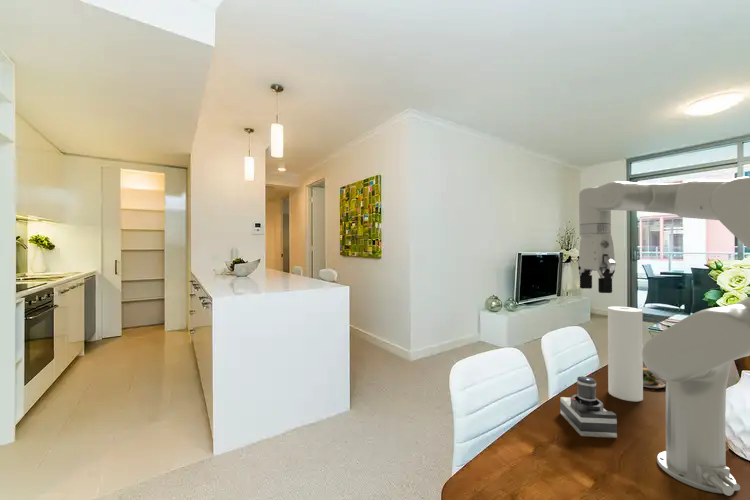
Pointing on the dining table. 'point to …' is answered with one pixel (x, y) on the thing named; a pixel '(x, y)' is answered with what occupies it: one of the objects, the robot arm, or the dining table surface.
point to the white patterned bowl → (651, 380)
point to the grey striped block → (589, 418)
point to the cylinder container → (625, 353)
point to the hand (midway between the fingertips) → (595, 290)
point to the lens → (586, 390)
